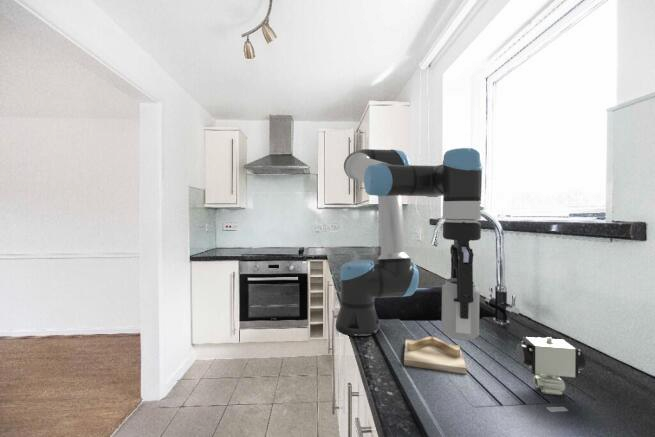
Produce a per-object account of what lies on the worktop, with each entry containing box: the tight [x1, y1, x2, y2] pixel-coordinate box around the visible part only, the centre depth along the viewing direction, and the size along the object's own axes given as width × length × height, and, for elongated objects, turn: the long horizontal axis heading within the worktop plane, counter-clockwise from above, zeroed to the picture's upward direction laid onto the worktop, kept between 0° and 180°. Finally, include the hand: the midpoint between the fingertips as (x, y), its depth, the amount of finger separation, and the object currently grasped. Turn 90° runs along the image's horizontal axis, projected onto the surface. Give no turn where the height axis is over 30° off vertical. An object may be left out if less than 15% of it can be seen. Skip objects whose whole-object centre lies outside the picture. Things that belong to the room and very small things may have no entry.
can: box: [441, 277, 481, 342], centre depth 64 cm, size 8×8×12 cm
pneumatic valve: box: [515, 336, 587, 396], centre depth 66 cm, size 6×12×12 cm, turn 78°
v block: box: [403, 336, 468, 375], centre depth 80 cm, size 13×15×4 cm
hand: (460, 324), depth 64 cm, fingers closed on can, 7 cm apart
